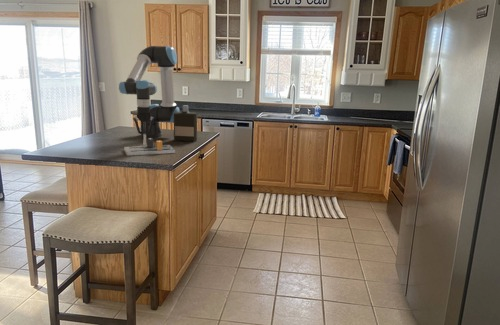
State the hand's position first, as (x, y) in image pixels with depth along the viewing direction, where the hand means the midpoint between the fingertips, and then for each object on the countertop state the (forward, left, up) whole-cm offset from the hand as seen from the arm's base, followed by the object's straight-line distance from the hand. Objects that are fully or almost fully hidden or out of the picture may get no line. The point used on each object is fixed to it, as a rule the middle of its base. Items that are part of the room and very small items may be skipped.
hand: (144, 144), depth 222 cm
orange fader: (+9, +7, -1) cm, 12 cm away
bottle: (-25, +32, -4) cm, 41 cm away
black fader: (0, +3, -1) cm, 4 cm away
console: (+4, +2, -4) cm, 6 cm away
